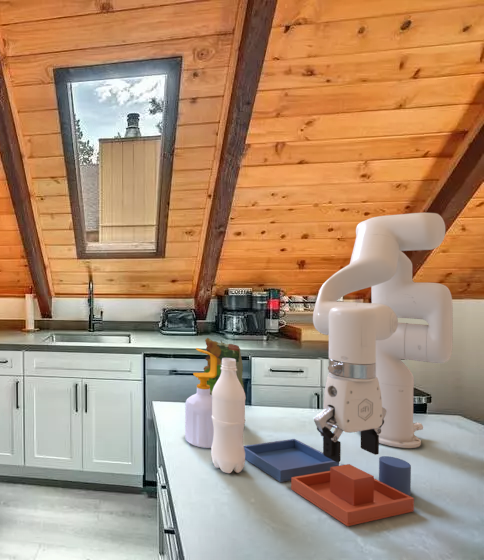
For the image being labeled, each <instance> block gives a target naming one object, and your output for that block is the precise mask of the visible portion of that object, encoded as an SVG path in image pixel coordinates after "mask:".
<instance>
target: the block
mask: <svg viewBox="0 0 484 560" xmlns="http://www.w3.org/2000/svg"><path fill="white" fill-rule="evenodd" d="M374 479H375V476H374V475H372V474H370V473H369V472H366V471H364V470H362V469H361V468H358V467H356V466H354V465H352V464H350V463H347V464H341V465H339V466H335V467H330V492H332V493H333V494H335V495H337V496H338V497H340V498H342V499H343V500H345V501H347V502H348V503H350V504H352V505H354V506H355V505H360V504H365V503H370V502H373V501H374Z"/></svg>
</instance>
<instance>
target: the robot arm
mask: <svg viewBox="0 0 484 560" xmlns="http://www.w3.org/2000/svg"><path fill="white" fill-rule="evenodd" d="M445 236H446V223H445V221H444V219H443V217H442V216H441V215H440V214H439V213H437V212H411V213H400V214H399V213H398V214H387V215H379V216H374V217H369V218H368V219H366V220H363V221H360V222H359V223H358V224H356V227H355V241H354V244H353V248H352V252H351V256H350V261H349V264H347V265H345V266H344V267H342V268H341V269H339V270H338V271H336V272H335V273H333V274H332V275H331V276H330V277H329V278H327V279H326V281H325V282H323V284H322V285H321V286H320V288H319V290H318V293H317V297H316V301H315V304H314V307H313V314H312V324H313V327H314V328H315V330H316V331H317V332H318V333H319V334H323V335H325V336H328V365H327V370H328V371H327V372H328V375H327V377H326V380H325V381H326V382H325V387H324V395H323V408H322V409H323V410H322V411H321V412H319V413H318V414H316V415H315V416H314V417H313V422H314V424H315V426H316V430H317V431H318V433H319V434H320V436H321V437H322V446H323V447H322V448H323V449H322V453H323V455H324V456H326V457H328V458H329V459H331V460H333V461H335V462H339V463H340V462H341V451H342V450H341V448H342V447H341V446H342V445H341V444H342V443H341V441H339V439H340V437H341V435H342V434H343V432H345V433H347V434H348V433H350V434H351V433H357V432H360V448H361V449H362V450H364V451H366V452H368V453H370V454H372V455H379V454H380V447H379V446H380V444H382V445H385V446H389V447H393V448H401V449H417V448H419V447H420V446H421V445H422V441H421V438H419V437H418V436H416V435H415V432H416V431H422V430H424V426H423V424H422V423H421V422H414V387H415V383H414V382H415V379H414V375H413V373H412V372H411V370H410V369H409V367H408V366H407V365H406V364H405V363H404V362H403V361H402V360H406V361H407V360H408V361H417V362H424V363H432V364H444V363H448V361H450V359H451V357H452V355H453V343H454V341H453V338H454V337H453V336H454V335H453V333H454V332H453V328H454V327H453V323H454V321H453V319H454V317H453V314H454V313H453V312H454V309H453V308H454V307H453V297H452V293H451V291H450V289H449V287H448V286H447V285H445V284H442V283H439V282H427V281H426V282H423V281H422V282H416V281H414V280H413V262H412V261H411V259H410V258H409V257H408V256H407V255H406V253H404V252H408V251H411V252H412V251H429V250H430V251H431V250H435V249H437V248H438V247H440V246H441V244H442V243H443V242H444V239H445ZM368 288H371V290H370V291H371V292H370V293H371V297H370V299H371V302H357V301H355V302H354V301H338V300H340V299H341V298H343V297H344V296H346V295H348V294H351V293H354V292H359V291H360V290H364V289H368ZM398 318H399V319H410V320H411V319H412V320H413V319H414V320H423V321H425V322H426V323H427V324H421V323H408V322H399V320H398ZM332 428H333V429H334V431H333V432H332V431H331V430H332Z"/></svg>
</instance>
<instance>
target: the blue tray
mask: <svg viewBox="0 0 484 560" xmlns="http://www.w3.org/2000/svg"><path fill="white" fill-rule="evenodd" d="M244 450H245V461H248V462H249V463H250V464H252V465H253V466H255V467H256V468H258V469H259V470H261V471H262V472H264V473H266V474H267V475H269V476H270V477H271V478H273V479H274V480H276V481H278V482H279V483H283V482H289V481H291V477H297V476H303V475H308V474H314V473H320V472H326V471H330V467H335V466H340V462H335V461H333V460H331V459H329V458H328V457H326V456H324V455H323V451H320V450H318V449H316V448H314V447H312V446H310V445H308V444H307V443H304V442H302V441H300V440H298V439H297V438H290V439H283V440H276V441H270V442H261V443H254V444H247V445H244Z"/></svg>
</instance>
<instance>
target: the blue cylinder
mask: <svg viewBox="0 0 484 560" xmlns="http://www.w3.org/2000/svg"><path fill="white" fill-rule="evenodd" d="M411 480H412V465H411V464H410V462H408V461H406V460H404V459H401V458H400V457H399V458H398V457H394V456H389V455H382V456H379V458H378V481H380V482H382V483H384V484H386V485H388V486H390V487H392V488H394V489H396V490H398V491H400V492H402V493H404V494H406V495H408V496H410V497H411V493H412V492H411V486H412V485H411V484H412V483H411V482H412V481H411Z"/></svg>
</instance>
